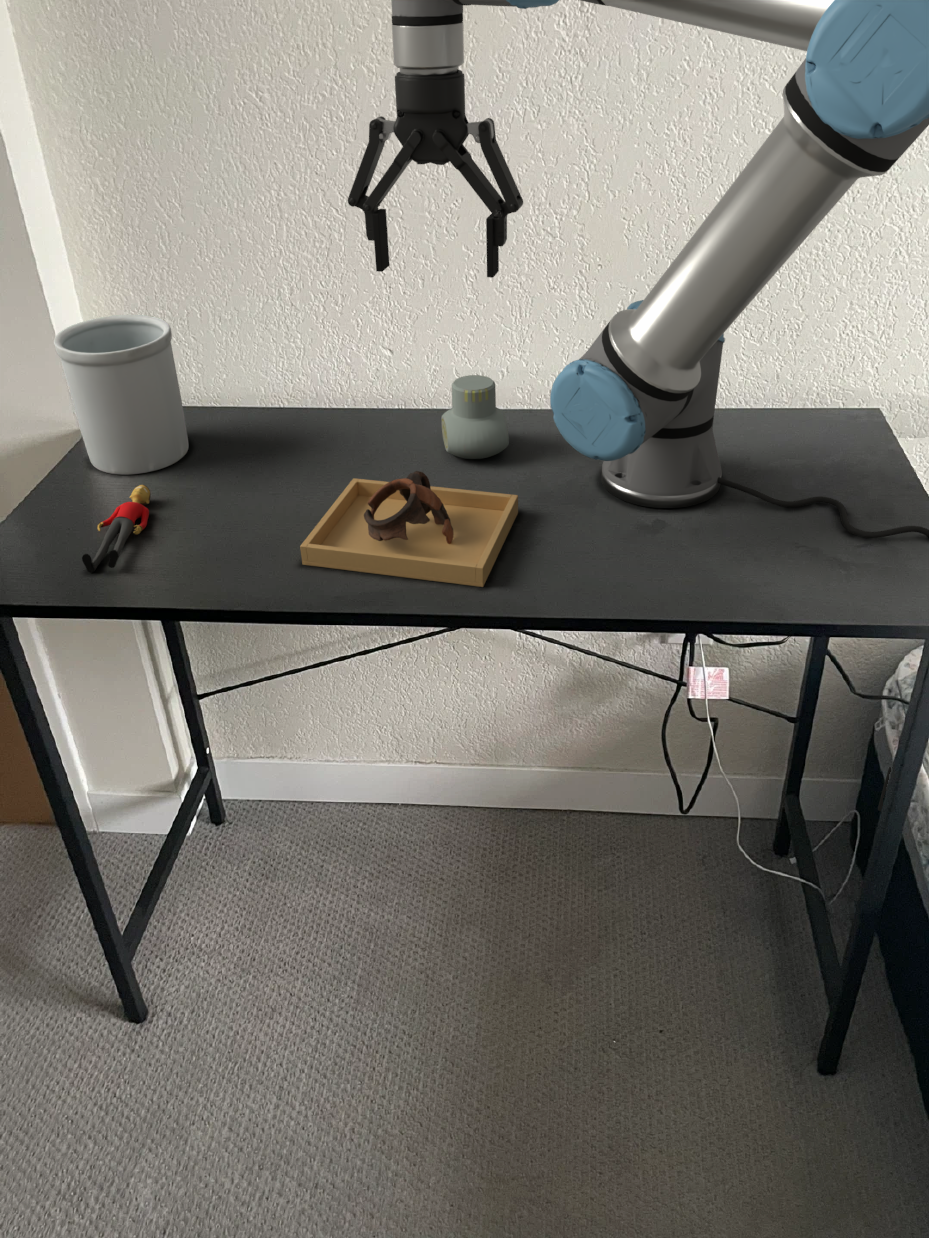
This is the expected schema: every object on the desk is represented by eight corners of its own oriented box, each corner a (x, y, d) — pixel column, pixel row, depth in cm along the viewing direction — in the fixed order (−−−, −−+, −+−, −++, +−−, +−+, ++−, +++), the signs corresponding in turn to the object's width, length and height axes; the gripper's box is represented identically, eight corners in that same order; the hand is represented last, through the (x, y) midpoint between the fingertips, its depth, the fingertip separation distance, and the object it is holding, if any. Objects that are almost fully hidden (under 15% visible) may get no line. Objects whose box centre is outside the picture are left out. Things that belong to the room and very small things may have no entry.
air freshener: (511, 465, 138) (511, 395, 132) (450, 470, 137) (447, 400, 132) (497, 432, 147) (497, 365, 141) (440, 437, 146) (438, 370, 141)
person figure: (76, 540, 115) (126, 468, 130) (74, 568, 117) (122, 495, 132) (121, 552, 116) (165, 479, 131) (118, 580, 118) (162, 505, 133)
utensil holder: (179, 477, 138) (153, 350, 128) (70, 478, 138) (36, 353, 128) (204, 431, 150) (182, 313, 140) (104, 433, 150) (75, 315, 140)
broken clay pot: (457, 560, 118) (420, 513, 113) (388, 584, 122) (349, 540, 117) (463, 490, 126) (429, 443, 120) (399, 514, 130) (363, 470, 124)
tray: (518, 512, 127) (518, 495, 126) (483, 587, 113) (482, 568, 112) (355, 495, 132) (353, 478, 131) (302, 564, 118) (299, 546, 117)
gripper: (550, 65, 109) (546, 267, 121) (332, 65, 115) (349, 257, 127) (536, 74, 103) (533, 286, 115) (307, 73, 109) (327, 275, 121)
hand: (437, 271), depth 121 cm, fingers open, 13 cm apart
